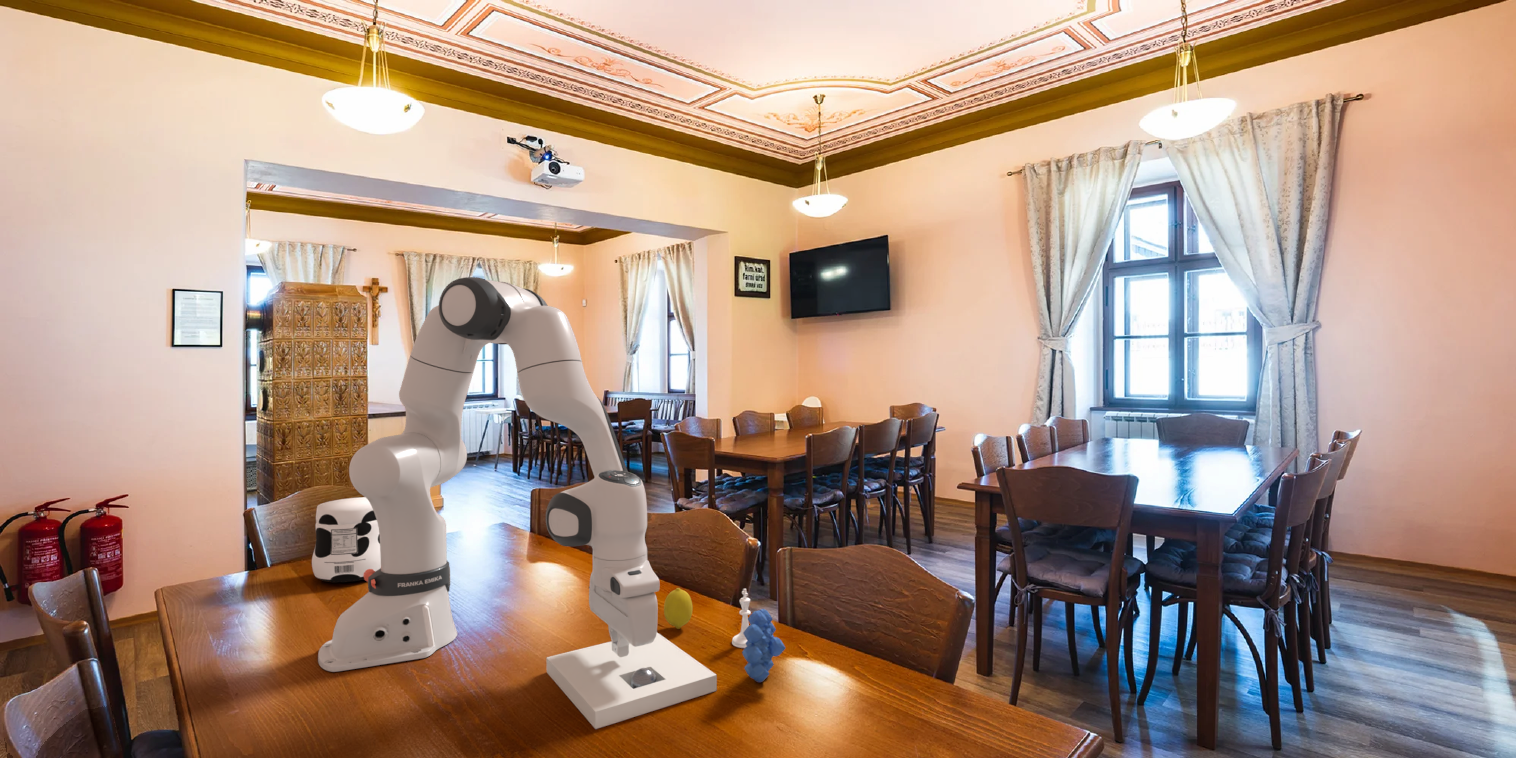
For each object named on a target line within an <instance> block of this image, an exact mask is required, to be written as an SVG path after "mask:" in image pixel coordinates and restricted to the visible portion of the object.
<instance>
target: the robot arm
mask: <svg viewBox="0 0 1516 758" xmlns="http://www.w3.org/2000/svg"><path fill="white" fill-rule="evenodd" d="M577 341H578V340H577V338H576V335H575V333H574V330H573V328H572V325H571V322H570V320H569V318H568V317H567V315H566V313H565V312H564V311H562V310H561V309H560V308H557V307H555V306H551V305H548V304H547V302H546V300H545V299H544V298H543V297H542V296H540V295H539V294H537V293H536V292H534V291H533V290H531V289H527V288H524V287H520V286H517V285H515V284H512V283H510V282H507V281H496V280H491V279H485V278H481V277H477V276H476V277H475V276H469V277H468V276H467V277H459V278H456V279H455V280H453V281H451V282H450V283H448V284H447V285H446V287H445V288H444V289H443V291H442V292H441V295H440V296H439V300H438V305H436V306H434V307H433V308H432V309H431V310H429V312H428V314H427V315H426V317H425V319H424V321H423V323H422V325H421V326H420V329H419V332H418V333H417V336H416V337H415V341H414V343H413V346H412V349H411V352H410V355H409V358H408V361H407V364H406V369H405V371H404V375H403V378H402V382H401V384H400V389H399V391H398V398H399V401H400V402H401V404H402V406H404V409H405V426H404V429H403V432H402V433H401V434H396V435H390V436H383V437H380V438H378V439H376V440H373V441H372V442H370V443H368V444H366V445H364V446H362V447H360V449H358V450H357V451H356V452H355V453H354V455H353V456H352V457H351V460H350V463H349V467H348V474H349V475H348V476H349V479H350V482H351V484H352V486H353V487H354V489H355V490H356V491H357V492H358V493H359V494H360V495H362V496H363V497H366V498H367V499H368V501H369V502H370V504H371V506H372V508H373V511H374V513H375V516H376V519H377V523H378V527H379V534H380V556H381V568H380V569H379V570H377V571H376V572H375V571H374V570H373V569H368V570H366V571H365V572H364V574H365V575H363V576H364V581H366V582H367V585H368V588H367V590H368V592H367V593H365V595H363V596H362V597H361V598H359V599H357V601H355V603H353V604H352V605H351V606H350V607H348V608H347V609H345V611H343V612H342V613H341V614H340V616H339V617H338V619H337V620H336V623H335V626H334V629H333V633H332V639H330V640H327V641H326V642H325V643H323V644H322V646H321V647H320V648H319V650H318V654H317V663H318V665H319V666H320V668H321V669H323V670H324V671H327V672H332V673H335V672H343V671H349V670H350V671H351V670H355V669H356V670H357V669H363V668H368V667H375V666H380V665H381V666H382V665H387V664H394V663H401V662H406V661H407V662H408V661H413V660H419V659H420V660H421V659H425V658H428V657H429V656H431V655H432V654H434V653H435V652H436V651H437V650H439V649H441V648H442V647H445V646H446V645H448V644H450V643H452V642H453V641H454V640H455V639H456V638H457V637H458V630H457V628H456V624H455V622H454V618H453V614H452V609H451V602H450V601H451V600H450V595H449V592H450V590H451V589H450V588H451V567H450V562H449V561H448V559H447V553H448V550H447V547H448V546H447V523H446V519H444V517H443V516H442V515H441V514H439V513H438V512H437V510H436V509H435V506H434V503H433V500H432V496H431V488H433V487H436V486H439V485H442V484H445V483H446V482H448V481H450V480H451V479H453V478H454V477H455V476H457V475H458V474H459V473H460V472H461V471H462V470H463V468H464V467H465V465H466V463H467V459H468V451H467V447H466V444H465V442H464V441H463V439H462V421H463V420H462V418H463V411H464V406H465V402H466V399H467V395H468V392H469V389H470V384H471V382H472V379H473V375H474V371H475V368H476V364H477V360H478V358H479V355H480V353H481V350H482V349H483V348H484V347H485V346H486V345H488V344H497V345H508V347H510V349H511V351H512V354H513V357H514V361H515V366H516V367H515V368H516V374H517V378H518V383H519V388H520V392H521V396H522V398H523V400H524V402H525V404H526V406H527V407H528V409H529V410H531V411H532V412H533V413H535V415H538V416H539V417H540V418H543V419H545V420H547V421H551V422H553V423H557V424H559V425H561V426H564V427H565V428H568V429H569V430H571V431H572V432H573V433H575V434H576V435H577V436H578V437H579V438H580V440H581V442H582V444H583V447H584V450H585V453H586V456H587V460H588V461H589V465H590V468H591V471H592V474H593V477H594V478H592V479H591V480H589V481H588V482H586V483H583V484H581V485H578V486H575V487H573V488H572V487H571V488H569V489H566V490H563V491H560V492H558V493H556V494H554V495H553V496H552V497H551V499H550V500H549V502H548V504H547V507H546V510H545V524H546V529H547V531H548V533H549V536H550V537H551V538H552V539H553V540H554V541H555V542H556V543H558V544H559V545H561V546H563V547H579V546H586V545H587V546H590V547H591V548H592V572H591V574H590V578H589V588H588V589H589V590H588V605H589V609H590V611H591V612H592V613H594V614H595V615H596V617H598V618H599V619H600V620H602V621H603V622H604V623H606V624H607V625H608V633H609V637H610V640H611V641H612V651H613V652H615V653H616V654H617V655H618V656H619V657H624V656H627V655H628V654H629V644H632V645H633V646H634V647H637V646H642V645H646V644H650V643H652V642H653V641H654V639H655V637H656V634H657V633H658V611H659V609H658V599H657V598H658V597H657V595H656V592H659V591H660V586H661V585H660V578H659V577H658V575H657V574H656V573H655V572H654V570H653V568H652V566H651V564H650V561H649V560H648V547H647V544H646V543H647V542H646V538H645V537H646V532H647V528H648V503H647V494H646V489H645V486H644V482H643V480H642V478H641V477H639V476H638V475H637V474H634V473H632V472H629V471H628V467H627V466H626V462H625V459H624V457H623V454H622V451H621V448H620V444H619V442H618V439H617V436H616V433H615V430H614V428H613V425H612V424H613V423H612V422H611V418H610V416H609V414H608V410H607V409H606V407H605V405H604V403H603V402H602V400H601V399H600V398H599V397H598V396H597V395H596V393H595V392H594V391H593V388H592V387H591V384H590V382H589V380H588V378H587V375H586V374H587V373H586V372H585V368H584V363H583V360H582V355H581V351H580V348H579V344H578V342H577ZM611 641H610V642H611Z"/></svg>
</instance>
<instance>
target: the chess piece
mask: <svg viewBox="0 0 1516 758" xmlns="http://www.w3.org/2000/svg"><path fill="white" fill-rule="evenodd" d="M741 594H742V597H741V598H740V599H739V604H740V606H741V610H739V613H738V614H739V615H740V616H742V619H741V627H740V632H739V633H738V634H735V635H734V636H733V637H732V641H731V644H732V645H733V647H736V648H739V649H740V648H741V649H745V648H746V647H747V645H746V642H747V641H748V640H747V639H746V637H745V635H744V633H743V632H744V631H745V630H746V628H747V627H748V626H749V624H750V622H749V621H748V618H749V617H748V615H749V616H750V615H751V614H752V613H751V612H752V611H751V610H749V606H750V604H751V598H749V593H748V591H747V588H742V591H741Z"/></svg>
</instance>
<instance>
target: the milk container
mask: <svg viewBox="0 0 1516 758" xmlns="http://www.w3.org/2000/svg"><path fill="white" fill-rule="evenodd" d="M311 567H312V568H311V569H312V572H313V575H314V576H315V578H316V579H318V580H320V581H322V582H326V583H350V582H353V583H354V582H359V581H363V580H364V581H365V579H364V576H363V575H365V574H364V572H365V571H366V570H368V569H373V570H374V571H375V572H376V571H377V570H379V569H380V568H381V556H380V534H379V527H378V523H377V519H376V516H375V513H374V511H373V508H372V506H371V504H370V502H369V501H368V499H367V498H366V497H365V496H363V497H351V498H350V497H349V498H341V499H335V500H329V501H325V502H323V503H319V504H317V506H316V512H315V546H314V550H313V554H312V557H311Z"/></svg>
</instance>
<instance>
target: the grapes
mask: <svg viewBox="0 0 1516 758" xmlns="http://www.w3.org/2000/svg"><path fill="white" fill-rule="evenodd" d="M772 621H773V617H772V614H770V612H769V611H768V610H767V609H765V608H762V609H758V610H754V611H753V612H752V613H751V614H749V617H748V623H749V624H750V625H749V626H748V627H747V628H746V630H745V631H744V632H743V633H744V635H745V637H746V639H747V640H748V641H747V642H746V645H747V647H746V648H743V650H742V651H741V654H742V656H743V657H744V659H745V660H746V662H747V663H746V664H745V666H744V670H745V672H746V674H747V675H748V676H749V678H750V679H753V680H754V681H755V682H757V683H762V682H764V681H765V679H767V678H768V676H769V675H770V672H769V671H770V670H771V669H772V668H773V666H774V665H775V664H774V661H773V660H772V658H773V657H779V656H780V655H781V654H782V653H783V652H784V651H785V650H786V646H785V644H784V643H783V641H782V639H780V638H779V637H777V636H774V634H775V632H776V630H777V629H776V626H775V625H774V624H773V622H772Z"/></svg>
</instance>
